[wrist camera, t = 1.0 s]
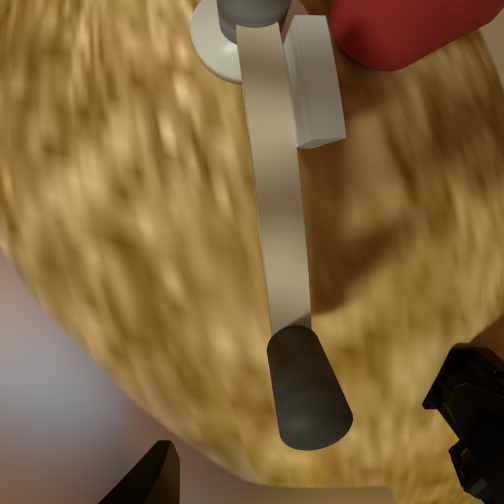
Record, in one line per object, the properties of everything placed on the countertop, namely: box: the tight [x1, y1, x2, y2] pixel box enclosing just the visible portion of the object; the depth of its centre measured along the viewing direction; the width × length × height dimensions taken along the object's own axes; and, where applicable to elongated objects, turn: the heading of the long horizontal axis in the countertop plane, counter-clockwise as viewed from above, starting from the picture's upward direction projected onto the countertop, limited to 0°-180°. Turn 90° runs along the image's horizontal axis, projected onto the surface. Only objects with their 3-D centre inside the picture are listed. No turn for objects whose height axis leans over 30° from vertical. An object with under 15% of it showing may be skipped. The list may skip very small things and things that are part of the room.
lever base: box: [190, 0, 309, 85], centre depth 16 cm, size 7×7×2 cm
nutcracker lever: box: [216, 0, 353, 451], centre depth 13 cm, size 22×4×9 cm, turn 7°
